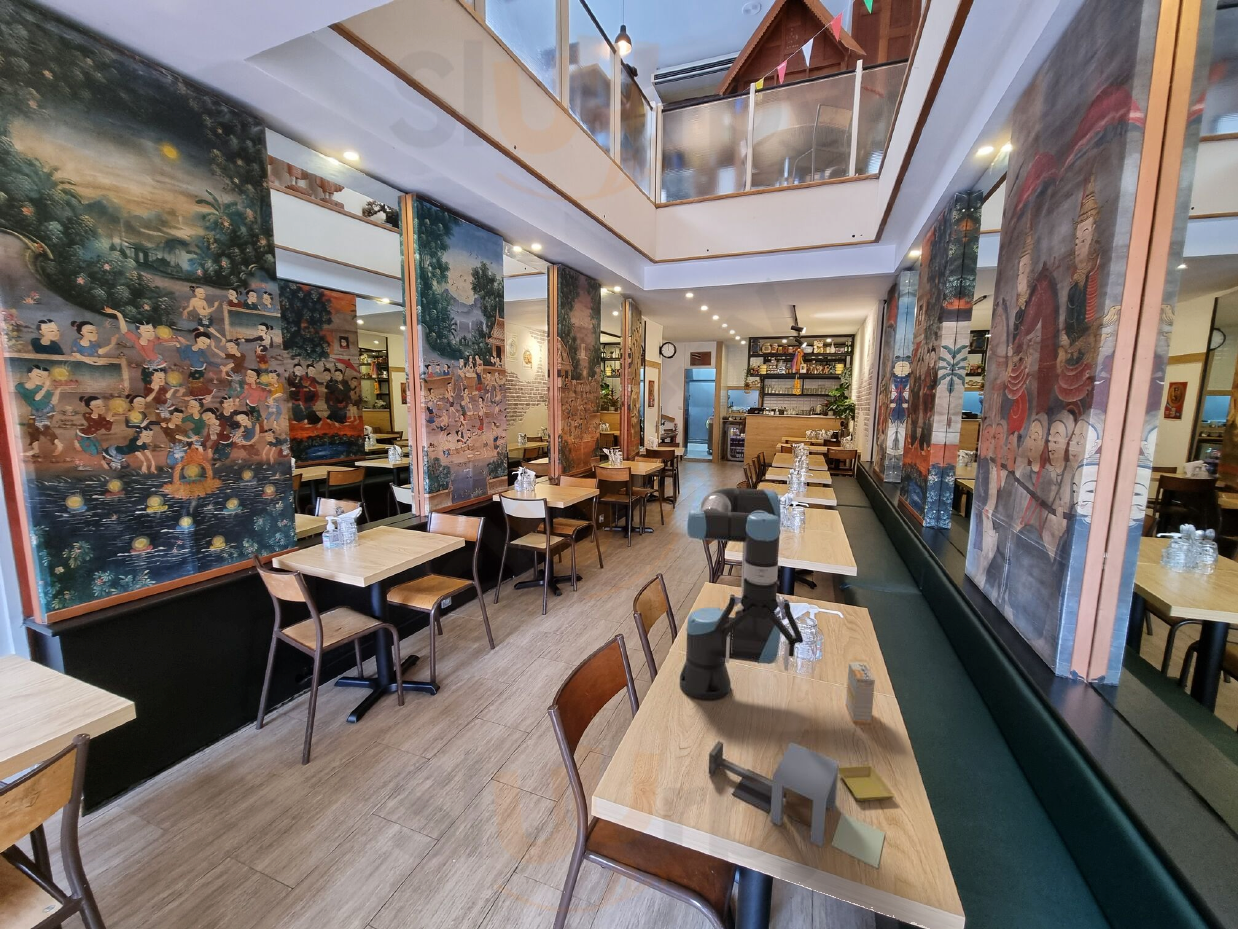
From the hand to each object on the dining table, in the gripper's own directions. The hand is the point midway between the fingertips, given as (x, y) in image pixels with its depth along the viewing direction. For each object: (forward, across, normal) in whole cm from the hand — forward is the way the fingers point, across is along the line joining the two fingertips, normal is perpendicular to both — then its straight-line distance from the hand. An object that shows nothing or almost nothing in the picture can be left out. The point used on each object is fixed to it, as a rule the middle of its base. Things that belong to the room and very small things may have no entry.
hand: (756, 664), depth 117 cm
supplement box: (+23, +29, +21) cm, 42 cm away
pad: (+22, +20, -21) cm, 36 cm away
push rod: (+22, +2, -13) cm, 26 cm away
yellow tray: (+23, +24, -6) cm, 34 cm away
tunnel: (+22, +10, -17) cm, 30 cm away
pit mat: (+22, +1, -13) cm, 26 cm away
